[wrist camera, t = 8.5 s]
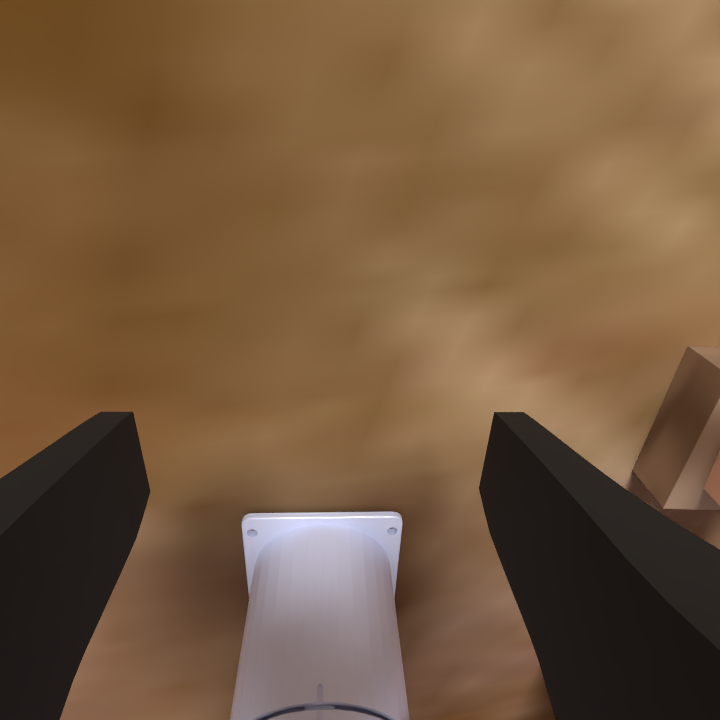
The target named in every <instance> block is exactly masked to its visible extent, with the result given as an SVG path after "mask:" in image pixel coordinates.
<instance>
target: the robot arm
mask: <svg viewBox="0 0 720 720" xmlns="http://www.w3.org/2000/svg"><path fill="white" fill-rule="evenodd" d="M479 490H480V495H481V499H482V503H483V507H484V512H485V516H486V520H487V523H488V527H489V531H490V534H491V537H492V540H493V542H494V545H495V548H496V550H497V553H498V556H499V558H500V561H501V563H502V566H503V569H504V571H505V574H506V576H507V579H508V581H509V584H510V587H511V589H512V592H513V594H514V597H515V599H516V602H517V604H518V607H519V610H520V612H521V615H522V617H523V620H524V622H525V625H526V627H527V630H528V632H529V635H530V638H531V640H532V643H533V646H534V649H535V652H536V655H537V658H538V660H539V663H540V667H541V670H542V673H543V677H544V680H545V684H546V687H547V691H548V694H549V698H550V701H551V705H552V708H553V712H554V715H555V719H556V720H720V550H719V549H718V548H716V547H714V546H713V545H711V544H709V543H708V542H706V541H704V540H703V539H701V538H699V537H698V536H696V535H694V534H693V533H691V532H689V531H688V530H686V529H684V528H683V527H681V526H679V525H678V524H676V523H675V522H673V521H672V520H670V519H668V518H667V517H665V516H664V515H662V514H661V513H659V512H658V511H656V510H655V509H653V508H652V507H650V506H649V505H648V504H646V503H645V502H643V501H642V500H640V499H639V498H637V497H636V496H634V495H633V494H631V493H630V492H629V491H627V490H626V489H624V488H623V487H622V486H620V485H619V484H617V483H616V482H615V481H613V480H612V479H611V478H609V477H608V476H607V475H605V474H604V473H603V472H601V471H600V470H599V469H597V468H596V467H595V466H593V465H592V464H591V463H589V462H588V461H587V460H585V459H584V458H583V457H581V456H580V455H579V454H578V453H576V452H575V451H574V450H572V449H571V448H570V447H569V446H567V445H566V444H565V443H564V442H562V441H561V440H560V439H558V438H557V437H556V436H555V435H553V434H552V433H551V432H549V431H548V430H547V429H546V428H544V427H543V426H542V425H540V424H539V423H538V422H536V421H535V420H534V419H532V418H531V417H530V416H528V415H527V414H525V413H524V412H494V416H493V421H492V426H491V431H490V436H489V441H488V446H487V451H486V456H485V461H484V466H483V471H482V476H481V481H480V486H479ZM149 494H150V488H149V483H148V479H147V474H146V469H145V465H144V460H143V456H142V451H141V446H140V442H139V437H138V432H137V428H136V423H135V419H134V414H133V412H100V413H98V414H97V415H95V416H93V417H91V418H90V419H88V420H87V421H85V422H84V423H82V424H81V425H79V426H78V427H76V428H75V429H73V430H72V431H70V432H69V433H67V434H66V435H64V436H63V437H61V438H60V439H58V440H57V441H56V442H54V443H53V444H51V445H50V446H48V447H47V448H45V449H44V450H42V451H41V452H39V453H38V454H36V455H35V456H33V457H32V458H30V459H29V460H28V461H26V462H25V463H23V464H22V465H20V466H19V467H17V468H16V469H14V470H13V471H11V472H10V473H8V474H7V475H5V476H4V477H2V478H1V479H0V720H60V717H61V714H62V711H63V708H64V705H65V702H66V699H67V696H68V694H69V691H70V688H71V685H72V682H73V679H74V677H75V675H76V672H77V670H78V667H79V665H80V662H81V660H82V657H83V655H84V653H85V650H86V648H87V646H88V644H89V642H90V639H91V637H92V635H93V633H94V631H95V628H96V626H97V624H98V622H99V620H100V617H101V615H102V613H103V611H104V609H105V607H106V604H107V602H108V600H109V598H110V596H111V593H112V591H113V589H114V587H115V585H116V582H117V580H118V578H119V576H120V574H121V571H122V569H123V567H124V565H125V562H126V560H127V558H128V556H129V553H130V551H131V549H132V547H133V544H134V542H135V540H136V537H137V534H138V531H139V528H140V524H141V521H142V518H143V515H144V511H145V508H146V504H147V501H148V497H149ZM402 524H403V523H402V517H401V515H400V514H399V513H397V512H312V513H250V514H247V515H245V516H244V517H243V520H242V535H243V544H244V554H245V563H246V573H247V582H248V592H249V603H248V610H247V616H246V622H245V628H244V635H243V641H242V647H241V654H240V660H239V666H238V672H237V679H236V685H235V691H234V697H233V704H232V710H231V716H230V720H409V712H408V704H407V696H406V688H405V680H404V672H403V664H402V656H401V648H400V640H399V632H398V625H397V617H396V609H395V601H394V598H395V588H396V579H397V570H398V561H399V551H400V542H401V533H402ZM392 527H393V529H389V528H392ZM251 529H253V530H255V531H252V530H251Z"/></svg>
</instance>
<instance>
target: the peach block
mask: <svg viewBox="0 0 720 720" xmlns="http://www.w3.org/2000/svg"><path fill="white" fill-rule="evenodd" d="M703 489H704V490H705V491H706V492H707V493H708V494H709V495H710V496H711V497H712V498H713V499H714V500H715V501H716V502H717V504H718V505H719V506H720V451H719V453H718V456H717V458H716V460H715V463H714V465H713V467H712V470H711V472H710V474H709V477H708V479H707V481H706V484H705V486H704V488H703Z"/></svg>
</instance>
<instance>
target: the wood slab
mask: <svg viewBox="0 0 720 720" xmlns="http://www.w3.org/2000/svg"><path fill="white" fill-rule="evenodd" d="M719 451H720V348H715V347H697V346H688V347H687V349H686V352H685V354H684V356H683V358H682V361H681V363H680V365H679V367H678V370H677V372H676V374H675V376H674V379H673V381H672V383H671V385H670V387H669V390H668V392H667V394H666V396H665V399H664V401H663V403H662V405H661V408H660V410H659V412H658V414H657V417H656V419H655V421H654V423H653V425H652V428H651V430H650V432H649V434H648V437H647V439H646V441H645V443H644V446H643V448H642V450H641V452H640V455H639V457H638V459H637V461H636V464H635V466H634V468H633V472H634V473H635V474H636V475H637V477H638V478H639V479H640V480H641V482H642V483H643V484H644V485H645V487H646V488H647V489H648V490H649V492H650V493H651V494H652V495H653V497H654V498H655V499H656V501H657V502H658V503H659V504H660V506H661V507H662V508H663V509H695V510H720V506H719V505H718V504H717V502H716V501H715V500H714V499H713V498H712V497H711V496H710V495H709V494H708V493H707V492H706V491H705V490H704V489H703V488H704V486H705V484H706V481H707V479H708V477H709V474H710V472H711V470H712V467H713V465H714V463H715V460H716V458H717V456H718V453H719Z"/></svg>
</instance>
